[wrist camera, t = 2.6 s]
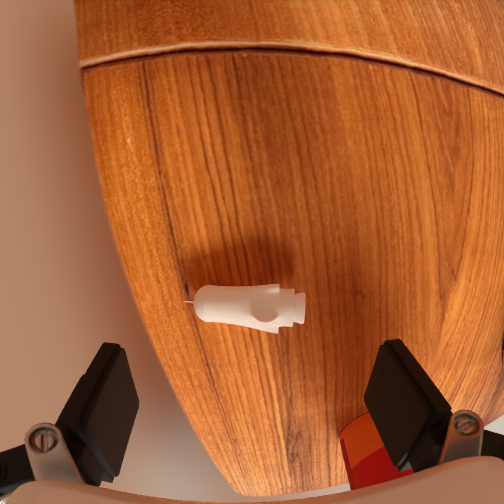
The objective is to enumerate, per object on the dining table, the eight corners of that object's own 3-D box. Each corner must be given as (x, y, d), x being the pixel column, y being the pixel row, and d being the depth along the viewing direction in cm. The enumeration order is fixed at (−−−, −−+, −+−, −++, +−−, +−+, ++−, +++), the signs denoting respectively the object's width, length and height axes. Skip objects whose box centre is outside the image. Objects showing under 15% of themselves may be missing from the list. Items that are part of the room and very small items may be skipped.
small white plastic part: (203, 241, 15) (195, 263, 12) (308, 282, 16) (323, 311, 13) (180, 299, 16) (170, 331, 13) (279, 334, 17) (287, 368, 14)
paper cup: (384, 448, 23) (428, 555, 10) (315, 455, 22) (346, 585, 9) (422, 395, 20) (493, 515, 7) (348, 401, 20) (409, 562, 6)
